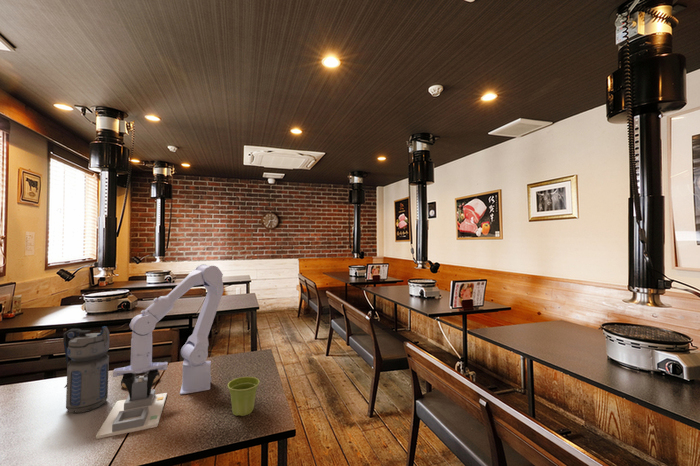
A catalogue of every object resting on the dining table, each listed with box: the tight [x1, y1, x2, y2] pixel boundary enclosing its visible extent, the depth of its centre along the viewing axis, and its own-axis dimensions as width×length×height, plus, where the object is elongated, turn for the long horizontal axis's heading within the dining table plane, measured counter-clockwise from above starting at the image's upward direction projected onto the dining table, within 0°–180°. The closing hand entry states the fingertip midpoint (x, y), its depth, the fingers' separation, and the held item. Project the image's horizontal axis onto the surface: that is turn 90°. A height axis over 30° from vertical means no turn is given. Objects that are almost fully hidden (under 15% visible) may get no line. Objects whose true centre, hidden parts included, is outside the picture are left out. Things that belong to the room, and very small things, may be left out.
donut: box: [120, 370, 161, 390], centre depth 115 cm, size 11×12×4 cm
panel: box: [95, 388, 168, 440], centre depth 94 cm, size 14×20×3 cm
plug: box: [131, 376, 149, 401], centre depth 100 cm, size 4×4×8 cm
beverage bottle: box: [62, 325, 111, 414], centre depth 99 cm, size 10×13×25 cm
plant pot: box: [227, 376, 260, 417], centre depth 96 cm, size 9×9×9 cm
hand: (140, 395), depth 100 cm, fingers closed on plug, 4 cm apart
